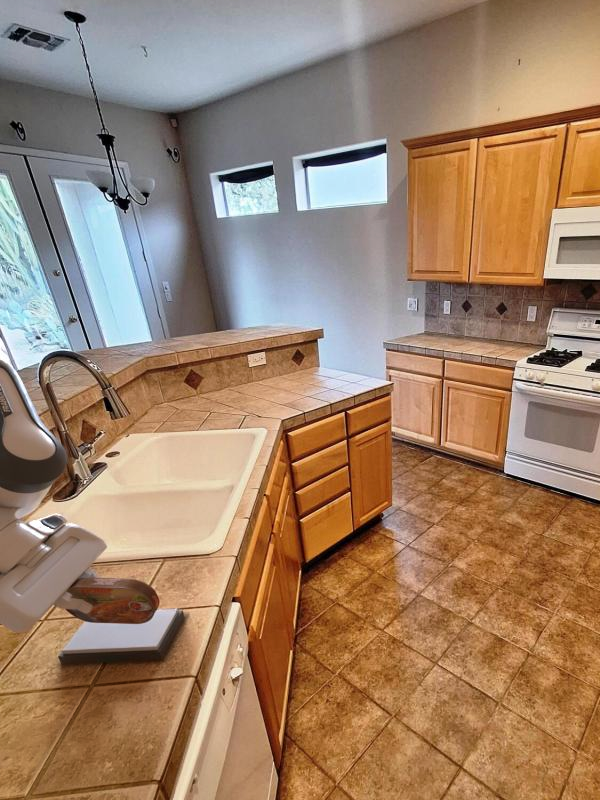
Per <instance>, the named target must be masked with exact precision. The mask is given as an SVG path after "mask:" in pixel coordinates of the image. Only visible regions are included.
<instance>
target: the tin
mask: <svg viewBox="0 0 600 800" xmlns="http://www.w3.org/2000/svg"><path fill="white" fill-rule="evenodd" d="M67 592H68V593H70V594H72V595H73V596H72V597H71V598H76V599H83V600H84V599H85V598H86V597H89V598H91V599H92V600H94V601H96V604H95V606H94V607H93V608H92V609H91V610H90V612H89V613H87V614H86V613H83V612H81V611H79V610H77V609H64V610H65V611H66V612H67V613H68V614H70V615H71V616H73V617H75V618H76V619H78V620H80V621H83V622H85V621H86V622H91V623H118V624H142V623H146V622H148V621H149V620H151V619H152V617H153V616H154V613H155V612H156V610H158V609H159V607H160V597H159V594H157V592H156V589H154V588H153V587H152V586H151V585H149V584H148V583H146V582H144V581H142V580H140V579H139V580H138V579H136V578H122V577H121V578H120V577H119V578H118V577H100V578H90V577H86V578H80V579H77V580H76V581H75V582H74V583H73V584H72V585H71V586H70V587H69V588H68V590H67Z"/></svg>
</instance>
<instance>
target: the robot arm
mask: <svg viewBox="0 0 600 800" xmlns="http://www.w3.org/2000/svg"><path fill="white" fill-rule="evenodd" d="M67 465H68V454H67V451H66V449H65V447H64V446H63V444H62V443H61V442H60V441H59V439H58V438H57V437H56V436H55V435H54V434H53V433H52V432H51V431H50V430H49V429H48V428H47V426H45V424H44V423H43V421H42V420H41V418H40V416H39V413H38V412H37V409H36V408H35V405H34V403H33V401H32V398H31V397H30V395H29V393H28V390H27V388H26V386H25V384H24V382H23V380H22V378H21V376H20V375H19V373H18V372H17V370H16V369H15V368H14V366H13V364H12V360H11V358H10V355H9V353H8V350H7V348H6V346H5V343H4V341H3V339H2V338H1V337H0V624H1V626H3V627H4V628H6V629H7V630H10V631H12V632H14V633H18V634H19V633H21V634H22V633H28V632H29V631H31V630H32V628H33V627H34V626H35V625H36V624H37V623H38V622H40V620H42V618H43V617H44V616H45V615H46V613H48V612H49V610H51V608H53V606H55V607H56V608H58V609H61V610H65V609H77V610H79V611H81V612H83V613H86V614H87V613H89V612H90V610H91V609H92V608H93V607H94V606H95V604H96V601H94V600H92V599H91V598H89V597H86V598H85V599H84V600H83V599H76V598H71V597H72V596H73V595H72V594H70V593H68V592H67V590H68V588H69V587H70V586H71V585H72V584H73V583H74V582H75V581H76V580H77V579H80V578H86V577H90V578H101V577H100V576H99V574H98V573H97V571H96V569H93V568H91V566H92V565H93V564H94V563H95V562H96V560H98V558H99V557H100V556H101V555H102V554H103V553H104V552H105V550H106V549H107V548H108V545H107V543H106V542H105V540H104V539H103V538H102V537H101V536H98V535H97V534H95V533H94V532H92V531H90V529H89V530H88V529H87V528H85V527H83V526H81V525H79V524H76V523H67V522H68V519H67V517H66V516H64V515H63V514H60V513H55V514H51V515H47V516H45V517H41V518H38V519H37V518H36V519H34V520H29V521H27V522H26V521H24V520H22V519H23V518H25V517H26V516H28V515H29V514H31V513H33V512H34V511H35V510H36V509H37V508H38V507H39V506H40V504H41V503H42V501H43V500H44V498H45V497H46V496H47V494H48V493H49V491H50V490H51V488H52V486H53V485H54V484H55V483H56V482H57V480H58V479H59V478H60V477H61V476H62V475H63V473H64V472H65V470H66V468H67Z"/></svg>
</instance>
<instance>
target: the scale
mask: <svg viewBox="0 0 600 800" xmlns="http://www.w3.org/2000/svg"><path fill="white" fill-rule="evenodd" d="M185 618H186V616H185V613H184V610H183V609H179V608H167V609H166V608H162V609H159V608H158V609H157V610H156V612H155V613H154V616H153V617H152V619H151V620H149V621H148V622H146V623H142V624H118V623H91V622H86V621H83V623H82V624H81V626H80V627H79V628H78V630H76V631H75V633H74V635H73V636H72V637H71V638H70V640H68V641H67V643H66V644H65V646H64V647H62V649H61V652H60V653H59V655H58V656H57V658H58V660H59V662H60V664H61V665H62V666H65V665H84V664H85V665H86V664H108V663H109V664H110V663H130V662H153V661H163V659H165V656H166V654H167V652H168V650H169V649H170V647H171V645H172V643H173V640H174V639H175V637H176V635H177V634H178V631H179V629H180V628H181V626H182V624H183V622H184V620H185Z"/></svg>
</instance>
